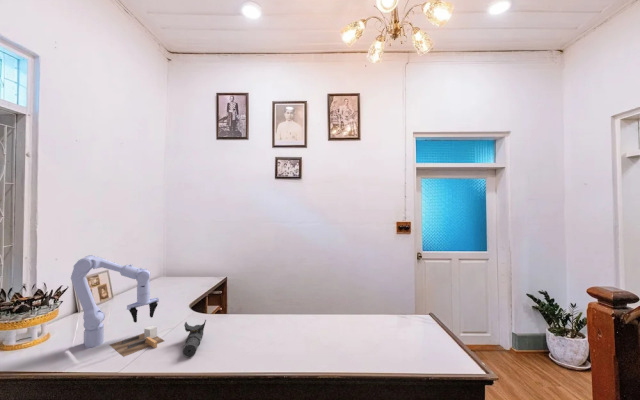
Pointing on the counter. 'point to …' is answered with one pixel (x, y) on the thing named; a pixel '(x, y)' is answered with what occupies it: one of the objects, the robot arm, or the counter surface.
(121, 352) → the base board
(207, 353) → the counter surface
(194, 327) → the laser sight
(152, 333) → the white block
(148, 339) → the bar
